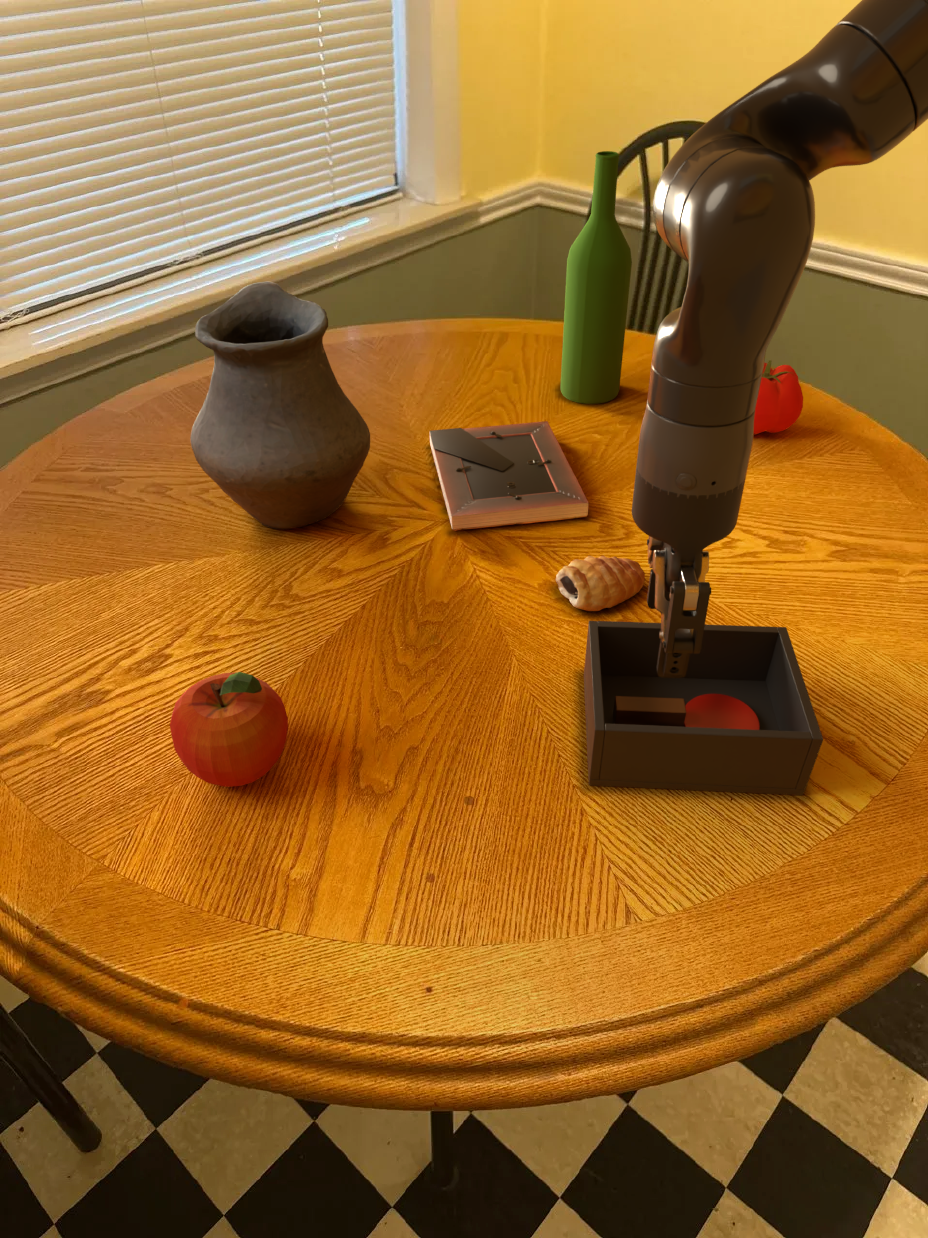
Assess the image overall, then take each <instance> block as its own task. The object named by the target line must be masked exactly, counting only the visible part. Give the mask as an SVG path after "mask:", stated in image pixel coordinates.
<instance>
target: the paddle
mask: <svg viewBox="0 0 928 1238" xmlns="http://www.w3.org/2000/svg"><path fill="white" fill-rule="evenodd" d="M613 723H614V724H629V725H653V726H677V727H701V728H725V729H749V730H759V729H760V724H759V720H758V718H757V716H756V714H755V713H754V711H753V710H752V709H751V708H750V707H749V706H748V705H746V704H745V703H744V702H742V701H740V700H738V699H736V698H734V697H731V696H727V695H722V694H704V695H700V696H697V697H695V698H693V699H692V700H690V701H689V702H688V703H687V704H686V705H685V702H684V699H683V698H656V697H630V696H615V702H614V709H613Z"/></svg>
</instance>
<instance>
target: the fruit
mask: <svg viewBox="0 0 928 1238" xmlns="http://www.w3.org/2000/svg"><path fill="white" fill-rule="evenodd" d="M169 729H170V734H171V740H172V744H173V748H174V751H175V753H176V754H177V756H178V758H179V759H180V761H181V762H182V764H183V765H184V766H185V768H186V769H187V770H188V772H190V773H191V774H193V776H195V777H197V778H198V779H200V780H202V781H203V782H205V783H206V784H210V785H215V786H220V787H226V788H227V787H228V788H229V787H230V788H231V787H242V786H245V785H248V784H252V783H254V782H256V781H257V780H259V779H261V778H263V777H264V776H266V775H267V773H268V772H270V771H271V769H273V767H274V766H275V765H276V764H277V763H278V761H279V759H280V757H281V756H282V754H283V752H284V749H285V746H286V742H287V738H288V733H289V718H288V715H287V709H286V707H285V704H284V701H283V699H282V697H281V696H280V695H279V694H278V693H277V692H276V690H275V689H273V687H272V686H270V684H269V683H268V682H267V681H264V680H262V679H260V678H258V677H256V676H254V675H253V674H250V673H246V672H242V671H238V672H237V671H236V672H223V673H218V674H215V675H214V674H213V675H211V676H208V677H205V678H203V679H200V680H199V681H197V682H196V683H194V684H192V685H191V686H189V687H188V688H187V689H186V690H185V691H184V692H183V693H182V694H181V695H180V696H179V698H178V699H177V700H176V702H174V706H173V709H172V714H171V718H170V723H169Z"/></svg>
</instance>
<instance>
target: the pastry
mask: <svg viewBox="0 0 928 1238" xmlns="http://www.w3.org/2000/svg"><path fill="white" fill-rule="evenodd" d="M645 581H646V574H645V571H644V569H643V568H642V567H641V564H640V562H638V561H635V560H633V559H630V558H626V557H625V558H624V557H623V558H622V557H617V556H612V557H607V556H605V555H600V556H598V557H595V556H593V555H588V556H586V557H585V558H584V559H578V558H575V559H573V560H571V561H570V562H569V564H568V565H564V566H563V567H562V568H561V569H560V570H559V571H558V572H557V573H556V575H555V582H556V584H557V586H558V590H559V592H560V594H561V595H562V596H563V597H564V598H565V599H568V600H569V602H570V604H571V605H572V606H573V607H574V608H577V609H579V610H583V611H586V612H599V611H601V610H604V609H606V608H608V609H610V608H613V607H615V606H617V605H619V604H621V603H623V602H625V601H626V600H629V599H630V598H632V597H634V596H635V595H637V594H638V593H639V592H640V591H641V589H642V588H643V587H644V585H645Z"/></svg>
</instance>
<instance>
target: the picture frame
mask: <svg viewBox="0 0 928 1238" xmlns="http://www.w3.org/2000/svg"><path fill="white" fill-rule="evenodd" d="M429 445H430V448H431V453H432V457H433V461H434V465H435V469H436V472H437V476H438V480H439V483H440V488H441V492H442V496H443V500H444V505H445V507H446V510H447V516H448V518H449V519H448V520H449V524H450V526H451V530H453V531H461V530H472V529H482V528H483V529H484V528H493V527H502V526H511V525H523V524H525V525H526V524H533V523H543V522H554V521H561V520H572V519H578V518H587V517H588V515H589V503H590V502H589V500H588V499H587V497H586V494H585V493H584V490H583V489H582V487H581V485H580V482H579V481H578V479H577V477H576V475H575V473H574V471H573V469H572V467H571V464H570V463H569V460H568V459H567V457H566V455H565V453H564V451H563V449H562V447H561V445H560V443H559V441H558V440H557V437H556V436H555V434H554V432H553V429H552V428H551V426H550V423H549V422H548V420H545V421H535V422H522V423H513V424H501V425H500V424H499V425H490V426H489V425H488V426H478V427H468V428H462V427H455V428H444V429H433V430H432V429H431V430H429Z"/></svg>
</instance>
